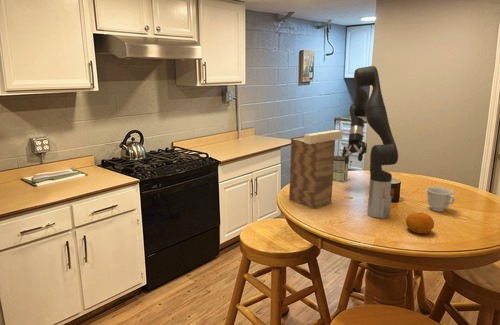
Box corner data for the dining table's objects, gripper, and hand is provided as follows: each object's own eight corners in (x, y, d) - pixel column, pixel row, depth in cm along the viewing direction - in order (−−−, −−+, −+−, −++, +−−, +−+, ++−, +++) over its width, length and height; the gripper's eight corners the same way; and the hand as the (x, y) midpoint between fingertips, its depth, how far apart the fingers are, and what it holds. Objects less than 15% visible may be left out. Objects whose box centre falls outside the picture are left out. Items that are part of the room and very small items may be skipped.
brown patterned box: (331, 203, 182) (335, 140, 174) (315, 209, 175) (318, 142, 167) (304, 194, 196) (307, 135, 188) (289, 199, 188) (291, 137, 181)
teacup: (441, 217, 165) (443, 197, 162) (418, 206, 178) (420, 187, 176) (462, 215, 168) (465, 194, 165) (438, 204, 182) (440, 185, 179)
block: (342, 138, 182) (342, 130, 181) (310, 144, 167) (310, 135, 166) (335, 137, 185) (336, 129, 184) (304, 142, 170) (304, 134, 169)
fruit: (424, 225, 156) (426, 208, 154) (437, 236, 145) (440, 218, 143) (400, 226, 155) (402, 208, 153) (412, 236, 145) (414, 218, 143)
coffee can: (329, 177, 230) (330, 155, 227) (345, 177, 229) (347, 156, 226) (331, 181, 220) (332, 159, 217) (348, 182, 220) (350, 159, 216)
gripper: (371, 135, 196) (368, 162, 190) (349, 141, 207) (346, 166, 201) (362, 129, 192) (359, 157, 186) (341, 135, 203) (338, 161, 197)
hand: (352, 162), depth 193 cm, fingers open, 8 cm apart
